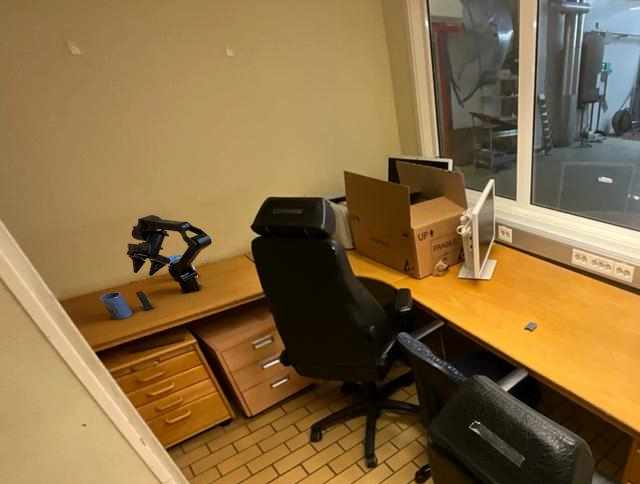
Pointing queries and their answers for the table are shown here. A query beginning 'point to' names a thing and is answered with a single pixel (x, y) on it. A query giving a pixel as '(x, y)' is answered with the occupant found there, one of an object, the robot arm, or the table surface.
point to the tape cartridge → (173, 258)
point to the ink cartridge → (144, 300)
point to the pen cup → (116, 305)
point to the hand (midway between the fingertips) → (142, 274)
